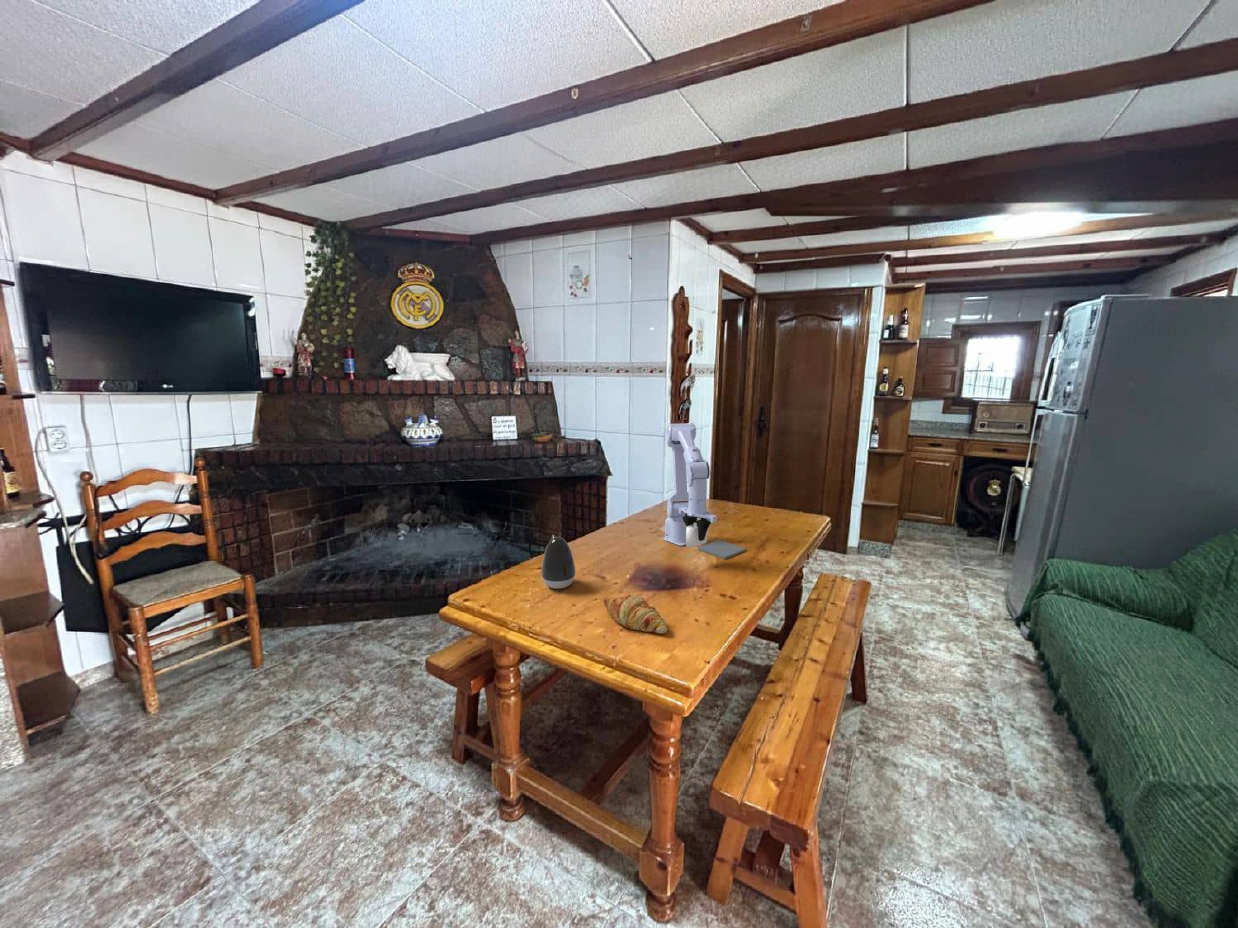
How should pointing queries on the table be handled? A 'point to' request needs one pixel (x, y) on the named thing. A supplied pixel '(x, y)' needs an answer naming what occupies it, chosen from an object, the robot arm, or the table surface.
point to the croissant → (635, 614)
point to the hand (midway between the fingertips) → (696, 538)
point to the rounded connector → (693, 536)
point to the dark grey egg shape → (558, 564)
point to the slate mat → (722, 549)
